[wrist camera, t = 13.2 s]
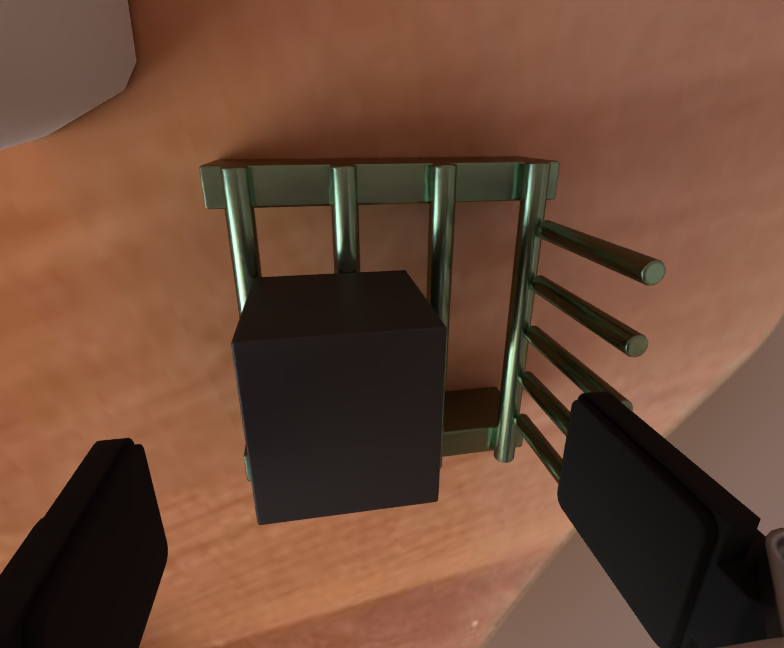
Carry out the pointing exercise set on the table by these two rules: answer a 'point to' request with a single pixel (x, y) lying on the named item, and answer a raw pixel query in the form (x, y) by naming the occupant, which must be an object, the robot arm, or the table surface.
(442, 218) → the rack
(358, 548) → the table surface
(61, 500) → the robot arm
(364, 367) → the box
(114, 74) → the cup
